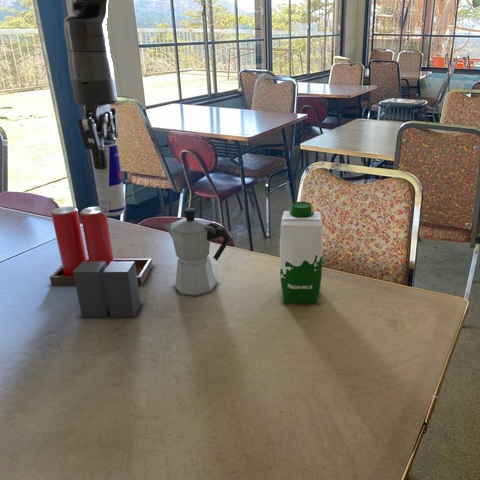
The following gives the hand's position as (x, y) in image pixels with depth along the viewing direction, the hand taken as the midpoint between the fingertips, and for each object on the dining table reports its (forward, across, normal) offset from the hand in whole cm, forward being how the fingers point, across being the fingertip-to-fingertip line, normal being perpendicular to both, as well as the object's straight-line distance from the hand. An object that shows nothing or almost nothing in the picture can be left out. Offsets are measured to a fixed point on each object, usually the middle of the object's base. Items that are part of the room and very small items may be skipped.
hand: (106, 164), depth 97 cm
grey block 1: (+26, +13, -1) cm, 29 cm away
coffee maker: (+27, +3, +18) cm, 32 cm away
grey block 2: (+26, +13, +5) cm, 30 cm away
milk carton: (+27, +7, +40) cm, 48 cm away
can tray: (+26, -2, -5) cm, 27 cm away
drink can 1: (+26, -2, -11) cm, 28 cm away
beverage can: (+11, 0, 0) cm, 11 cm away
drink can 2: (+26, -2, -5) cm, 26 cm away
